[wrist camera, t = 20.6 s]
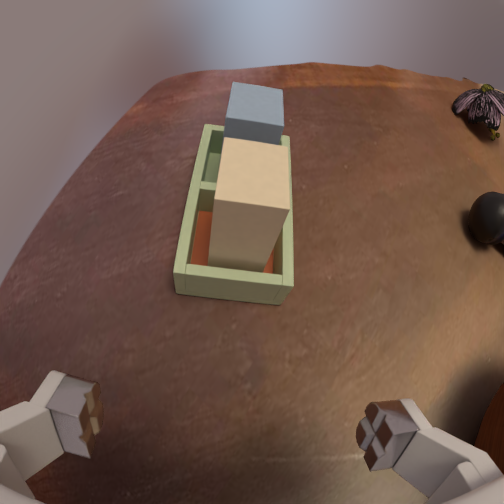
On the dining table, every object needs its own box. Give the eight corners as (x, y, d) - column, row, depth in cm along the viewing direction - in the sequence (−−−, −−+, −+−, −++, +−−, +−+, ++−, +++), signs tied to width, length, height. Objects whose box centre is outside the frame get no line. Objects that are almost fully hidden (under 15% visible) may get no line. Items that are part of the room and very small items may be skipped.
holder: (175, 293, 24) (172, 272, 21) (202, 152, 32) (204, 123, 28) (280, 305, 25) (293, 286, 22) (280, 163, 33) (289, 136, 29)
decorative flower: (483, 71, 47) (535, 101, 37) (477, 115, 56) (524, 148, 46) (444, 74, 47) (502, 106, 37) (439, 123, 55) (490, 160, 45)
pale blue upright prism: (215, 198, 28) (225, 116, 20) (221, 159, 30) (232, 81, 23) (260, 204, 28) (284, 126, 21) (262, 165, 31) (282, 89, 23)
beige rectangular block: (206, 274, 24) (214, 198, 16) (214, 219, 27) (224, 136, 19) (259, 280, 25) (290, 209, 17) (261, 225, 27) (288, 146, 19)
